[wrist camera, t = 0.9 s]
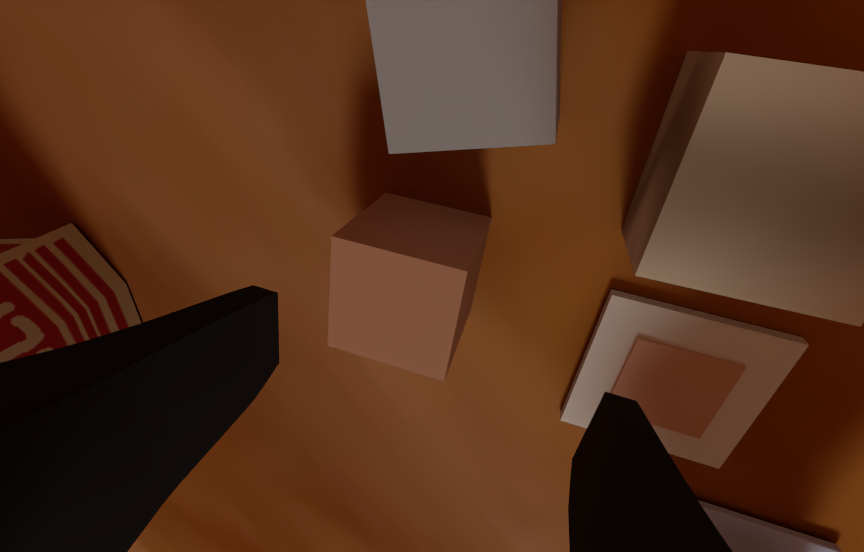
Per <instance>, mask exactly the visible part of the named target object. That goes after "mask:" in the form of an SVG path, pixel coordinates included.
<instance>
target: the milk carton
mask: <svg viewBox="0 0 864 552" xmlns="http://www.w3.org/2000/svg"><path fill="white" fill-rule="evenodd" d="M137 324H141V321H140V318H139V316H138V313H137V310H136V308H135V305H134V303H133V300H132V298H131V295H130V292H129V290H128V287H127V285H126V283H125V282H124V281H123V280H122V279H121V278H120V277H119V275H118V274H117V273H116V272H115V271H114V270H113V269H112V268H111V266H110V265H109V264H108V263H107V262H106V261H105V260H104V259H103V258H102V256H101V255H100V254H99V253H98V252H97V251H96V250H95V249H94V247H93V246H92V245H91V244H90V243H89V242H88V241H87V240H86V238H85V237H84V236H83V235H82V234H81V233H80V232H79V231H78V229H77V228H76V227H75V226H74V225H73V224H72V223H70V224H68V225H65V226H63V227H61V228H58V229H56V230H54V231H51V232H49V233H47V234H45V235H42V236H40V237H38V238H21V239H0V363H1V362H5V361H9V360H14V359H18V358H22V357H26V356H30V355H34V354H38V353H42V352H46V351H50V350H54V349H58V348H61V347H65V346H69V345H72V344H76V343H79V342H83V341H86V340H90V339H93V338H96V337H99V336H102V335H106V334H109V333H112V332H115V331H118V330H122V329H125V328H128V327H131V326H134V325H137Z"/></svg>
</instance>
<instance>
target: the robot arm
mask: <svg viewBox="0 0 864 552" xmlns="http://www.w3.org/2000/svg"><path fill="white" fill-rule="evenodd" d="M278 364H279V332H278V293H277V292H274V291H270V290H267V289H264V288H260V287H257V286H254V285H253V286H250V287H246V288H243V289H239V290H236V291H233V292H230V293H227V294H224V295H221V296H218V297H216V298H213V299H210V300H207V301H204V302H201V303H199V304H196V305H193V306H190V307H187V308H184V309H181V310H179V311H176V312H173V313H170V314H167V315H164V316H161V317H159V318H156V319H153V320H150V321H147V322H144V323H141V324H137V325H134V326H131V327H128V328H125V329H122V330H118V331H115V332H112V333H109V334H106V335H102V336H99V337H96V338H93V339H90V340H86V341H83V342H79V343H76V344H72V345H69V346H65V347H61V348H58V349H54V350H50V351H46V352H42V353H38V354H34V355H30V356H26V357H22V358H18V359H14V360H9V361H5V362H1V363H0V552H127V551H128V550H129V549H130V547H131V546H132V545H133V543H134V542H135V541H136V539H137V538H138V537H139V535H140V534H141V533H142V531H143V530H144V528H145V527H146V526H147V524H148V523H149V522H150V520H151V519H152V518H153V516H154V515H155V514H156V512H157V511H158V510H159V508H160V507H161V506H162V504H163V503H164V502H165V501H166V499H167V498H168V497H169V496H170V495H171V493H172V492H173V491H174V490H175V489H176V487H177V486H178V485H179V484H180V483H181V481H182V480H183V479H184V478H185V477H186V476H187V475H188V474H189V472H190V471H191V470H192V469H193V468H194V467H195V466H196V465H197V464H198V462H199V461H200V460H201V459H202V458H203V457H204V456H205V455H206V453H207V452H208V451H209V450H210V449H211V448H212V447H213V446H214V445H215V443H216V442H217V441H218V440H219V439H220V438H221V437H222V436H223V434H224V433H225V432H226V431H227V430H228V429H229V428H230V427H231V425H232V424H233V423H234V422H235V421H236V420H237V419H238V417H239V416H240V415H241V414H242V413H243V412H244V411H245V410H246V408H247V407H248V406H249V405H250V404H251V403H252V401H253V400H254V399H255V398H256V396H257V395H258V393H259V392H260V390H261V389H262V388H263V386H264V385H265V383H266V382H267V380H268V379H269V377H270V376H271V374H272V373H273V371H274V370H275V368H276V367H277V365H278ZM568 513H569V541H570V552H841V550H840V548H839V547H838V546H837V545H836V544H834V543H831V542H828V541H825V540H822V539H819V538H815V537H812V536H809V535H806V534H803V533H800V532H797V531H794V530H790V529H787V528H784V527H781V526H778V525H775V524H772V523H769V522H765V521H762V520H759V519H756V518H753V517H750V516H747V515H743V514H740V513H737V512H734V511H731V510H728V509H725V508H722V507H718V506H715V505H712V504H709V503H706V502H703V501H700V500H697V498H696V497H695V495H694V494H693V492H692V490H691V489H690V487H689V486H688V484H687V483H686V481H685V479H684V478H683V476H682V475H681V473H680V471H679V470H678V468H677V467H676V465H675V463H674V462H673V460H672V458H671V457H670V455H669V453H668V452H667V450H666V448H665V447H664V445H663V444H662V442H661V440H660V439H659V437H658V435H657V433H656V432H655V430H654V428H653V427H652V425H651V423H650V422H649V420H648V418H647V417H646V415H645V413H644V412H643V410H642V408H641V407H640V405H639V404H638V402H637V401H635V400H632V399H629V398H625V397H622V396H619V395H615V394H612V393H609V392H605V393H604V395H603V397H602V399H601V401H600V403H599V405H598V407H597V409H596V411H595V413H594V415H593V417H592V419H591V421H590V423H589V425H588V428H587V430H586V432H585V434H584V436H583V438H582V440H581V442H580V444H579V446H578V448H577V450H576V452H575V454H574V456H573V458H572V468H571V479H570V492H569V507H568Z"/></svg>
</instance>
